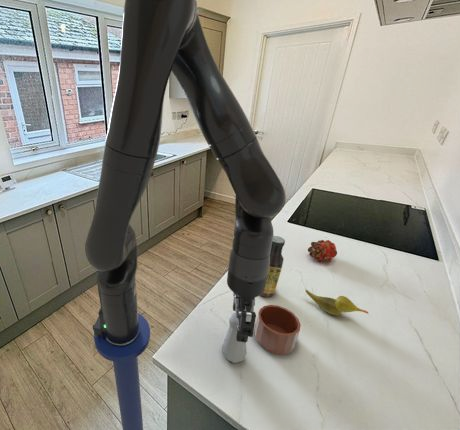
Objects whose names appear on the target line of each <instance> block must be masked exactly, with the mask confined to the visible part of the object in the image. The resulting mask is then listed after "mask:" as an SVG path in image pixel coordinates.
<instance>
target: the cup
mask: <svg viewBox="0 0 460 430" xmlns="http://www.w3.org/2000/svg"><path fill="white" fill-rule="evenodd" d="M301 327H302V324H301V322H300V319H299V318H298V317H297V316H296V315H295V313H293V311H291V310H289V309H288V308H286V307H283V306H280V305H276V304H267V305H264V306H262V307H260V308H259V311H258V313H257V316H256V321H255V325H254V338H255V340H256V342H257V343H258V345H259V346H260V347H262V348H263V349H264V350H266V351H267V352H269V353H270V354H271V353H272V354H274V355H279V356H285V355H288V354H290V353H292V352H293V351H294V349H295V347H296V344H297V341H298V338H299V335H300V332H301Z"/></svg>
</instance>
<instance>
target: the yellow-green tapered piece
mask: <svg viewBox="0 0 460 430" xmlns="http://www.w3.org/2000/svg"><path fill="white" fill-rule="evenodd" d="M304 290H305V293H306V294H307V295H308V296H309V298H311V300H312V301H313V302H314V303H315V304H316V305H317V306H318V307H319V308H320V309H322V310H323V311H324V312H326V313H327V314H329V315H331V316H340V315H342V313H352V312H362V313H365V314H370V313H369V311H367V310H365V309H362V308H359V307H358V306H356V305H355V304H354V303H353V301H352V300H351V299H349V298H348V297H347V296H345V295H339V296H338V297H336V298H333V297H327V296H319V295H316V294H314V293H312V292H311V291H309V290H308V289H304Z"/></svg>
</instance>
